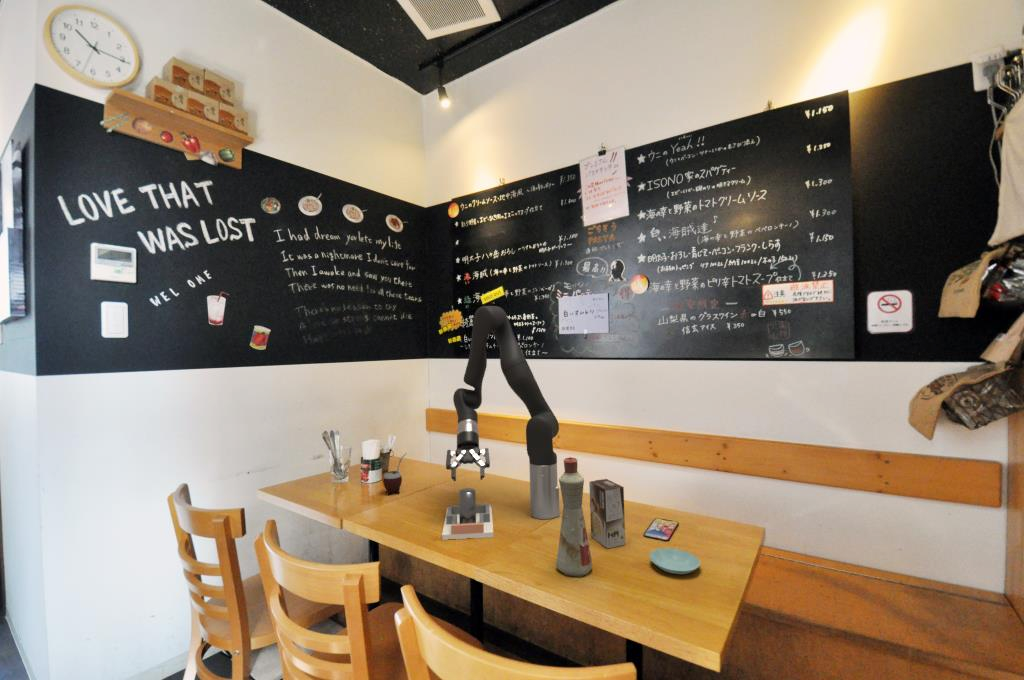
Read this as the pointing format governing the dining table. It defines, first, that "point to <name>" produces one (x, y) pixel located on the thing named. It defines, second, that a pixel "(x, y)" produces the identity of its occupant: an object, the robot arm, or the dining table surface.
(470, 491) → the metal peg
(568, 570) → the bottle
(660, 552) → the saucer
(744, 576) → the dining table surface
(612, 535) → the coffee box
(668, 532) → the smartphone
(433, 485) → the dining table surface
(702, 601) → the dining table surface
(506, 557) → the dining table surface
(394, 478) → the mate gourd
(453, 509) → the keyhole guide
